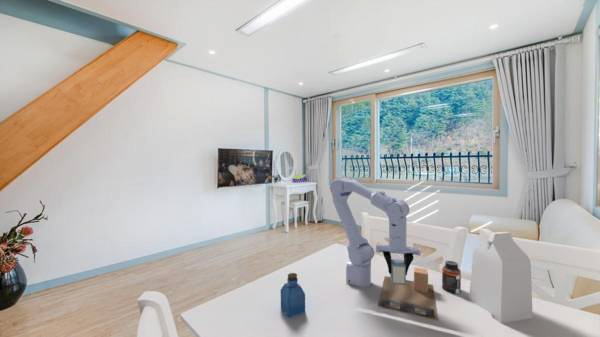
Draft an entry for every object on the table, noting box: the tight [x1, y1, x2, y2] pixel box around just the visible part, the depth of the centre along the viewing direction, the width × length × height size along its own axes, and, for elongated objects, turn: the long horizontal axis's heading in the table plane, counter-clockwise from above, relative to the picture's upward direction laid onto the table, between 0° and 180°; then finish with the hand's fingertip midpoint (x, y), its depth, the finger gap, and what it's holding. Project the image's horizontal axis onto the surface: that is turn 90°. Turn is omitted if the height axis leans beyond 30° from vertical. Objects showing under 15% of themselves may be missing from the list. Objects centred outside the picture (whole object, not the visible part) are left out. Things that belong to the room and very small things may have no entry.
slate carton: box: [389, 258, 407, 285], centre depth 87 cm, size 5×4×7 cm
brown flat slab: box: [377, 275, 439, 321], centre depth 90 cm, size 18×23×3 cm
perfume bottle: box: [280, 272, 306, 318], centre depth 83 cm, size 6×6×12 cm
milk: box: [468, 231, 534, 324], centre depth 82 cm, size 12×12×26 cm
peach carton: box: [413, 266, 429, 293], centre depth 94 cm, size 5×4×7 cm
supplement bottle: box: [441, 260, 462, 295], centre depth 93 cm, size 6×6×11 cm
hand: (397, 273), depth 88 cm, fingers closed on slate carton, 4 cm apart
